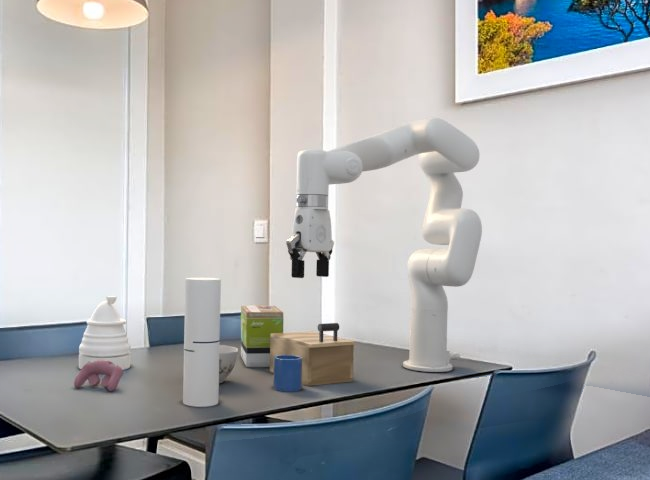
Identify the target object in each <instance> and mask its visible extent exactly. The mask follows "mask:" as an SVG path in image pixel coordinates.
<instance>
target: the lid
mask: <svg viewBox="0 0 650 480" xmlns="http://www.w3.org/2000/svg"><path fill="white" fill-rule="evenodd" d="M339 330H340V324H339V323H338V322H329V323H326V322H325V323H318V324H317V331H315V330H310V331H308V330H307V331H291V332H290V331H289V332H283V333H272V334H270V337H273V338H277V339H281V340H284V341H288V342H292V343H295V344H299V345H303V346H307V347H310V348H315V347H329V346H343V345H354V346H356V345H357V341H356V340H353V339H349V338H344V337H338V332H339ZM324 332H333V335H331V334H326V333H324Z"/></svg>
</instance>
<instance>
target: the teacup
mask: <svg viewBox="0 0 650 480" xmlns="http://www.w3.org/2000/svg"><path fill="white" fill-rule="evenodd" d="M238 354H239V348H237V347H236V346H230V345H225V344H219V384H222V383H224V380H225V379H227V377H229V375H230V374H231V373H232V371H233V369H234V367H235V365H236V362H237V359H238Z"/></svg>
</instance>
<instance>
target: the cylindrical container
mask: <svg viewBox="0 0 650 480" xmlns="http://www.w3.org/2000/svg"><path fill="white" fill-rule="evenodd" d="M184 280H185V281H184V327H183V329H184V331H183V377H182V378H183V381H182V382H183V384H182V385H183V386H182V387H183V389H182V404H183V405H185V406H190V407H195V408H206V407H213V406H216V405H218V404H219V394H220V393H219V392H220V391H219V388H220V383H219V345H221V343H220V337H221V293H222V292H221V290H222V289H221V287H222V283H221V282H222V279H221V278H218V277H217V278H215V277H186V278H185V279H184Z"/></svg>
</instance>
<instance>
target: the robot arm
mask: <svg viewBox="0 0 650 480" xmlns="http://www.w3.org/2000/svg"><path fill="white" fill-rule="evenodd" d="M416 155H417V156H418V163H419V166H420V168H421V170H422V172H423V174H424V176H425V177H426V179H427V182H428V185H429V197H428V203H427V205H426V210H425V214H424V218H423V222H422V228H421V234H422V238H423V240H424V241H425V242H426V243H428V244H431V245H437V246H448V248H441V247H439V248H438V247H437V248H436V247H427V248H426V247H425V248H424V247H423V248H420V249H417V250H415V251H413V253H411V255H410V256H409V258H408V260H407V266H406V269H407V276H408V281H409V290H410V292H409V293H410V309H409V315H410V316H409V346H408V347H409V351H408V352H409V354H408V359H407V360H404V361H403V362H402V366H403V368H405V369H407V370H411V371H416V372H423V373H425V372H426V373H448V372H450V371H453V365H452V363H450V362H451V361H452V360H459V359H460V355H461V354H460V353H459V352H458V351H455V352H454V351H453V352H450V350H447V348H448V347H447V346H448V345H447V344H448V310H449V301H448V297H447V294H446V291H445V289H444V287H454V288H455V287H457V288H458V287H464V286H465V285H466V284H467V283H468V282H470V280H471V278H472V276H473V274H474V270H475V266H476V262H477V257H478V254H479V250H480V249H479V248H480V245H481V240H482V234H483V226H482V225H483V224H482V221H481V218H480V216H479V215H478V213H477V212H476V211H474V210H472V209H470V208H462V202H463V198H464V197H463V196H464V191H463V187H462V185H461V183H460V181H459V179H458V177H457V176H456V174H455V173H465V172H469V171H471V170H473V169H474V168H475V167H476V166H477V165H478V164H479V161H480V149H479V147H478V145H477V143H476V142H475V141H474V139H472V138H471V137H470V136H469V135H467V134H465V133H464V132H463V131H461V130H460V129H458V127H456V126H454V125H453V124H451V123H449V122H448V121H446V120H444V119H442V118H440V117H428V118H421V119H416V120H411V121H408V122H404V123H401V124H399V125H396V126H395V127H394V126H393V127H392V128H389V129H387V130H384V131H380V132H378V133H375V134H372V135H370V136H367V137H363V138H361V139H359V140H357V141H353V142H351V143H347V144H345V145H341V146H338V147H336V148H333V149H330V150H328V151H326V150H323V149H313V148H311V149H302V150H300V151H299V152H298V153H297V156H296V182H295V209H294V216H293V221H292V222H293V223H292V232H291V233H292V235H291V236H290V237H289V238H288V239H287V240H286V241H285V244H286V247H287V253H288V255H289V259H290V261H291V278H292V279H293V278H294V279H295V278H296V279H304V278H305V260H304V258H305V255H306V253H307V252H308V253H315V254H316V257H317V258H318V259H316V269H315V271H316V277H322V278H328V277H329V276H330V260H331V259H332V258H331V255H332V253H333V249H334V246H335V241H334V240H333V234H332V220H331V219H332V218H331V214H330V210H329V190H330V188H329V187H330V185H341V184H350V183H352V182H355V181H357V179H359V178H360V177H361V175H362V173H363V172H371V171H376V170H380V169H384V168H387V167H391V166H393V165H394V164H398V163H399V162H402V161H404V160H406V159H408V158H411V157H414V156H416Z"/></svg>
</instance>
